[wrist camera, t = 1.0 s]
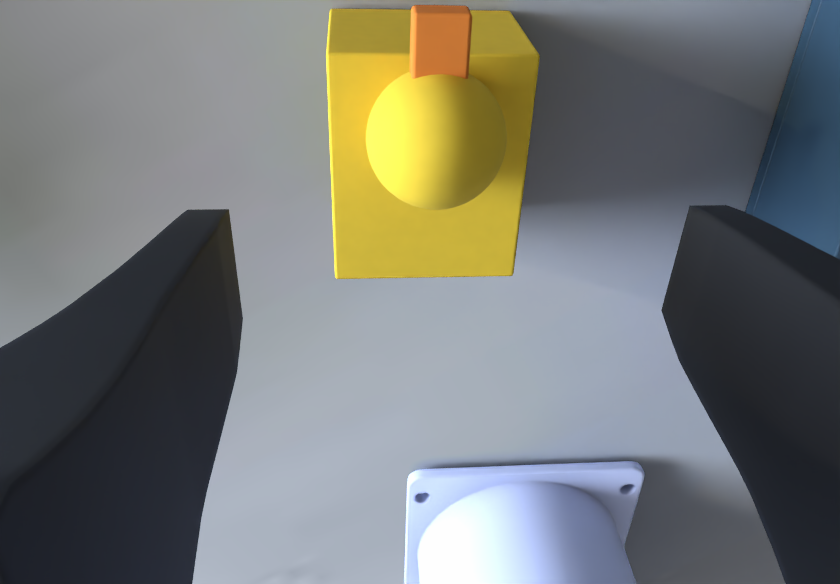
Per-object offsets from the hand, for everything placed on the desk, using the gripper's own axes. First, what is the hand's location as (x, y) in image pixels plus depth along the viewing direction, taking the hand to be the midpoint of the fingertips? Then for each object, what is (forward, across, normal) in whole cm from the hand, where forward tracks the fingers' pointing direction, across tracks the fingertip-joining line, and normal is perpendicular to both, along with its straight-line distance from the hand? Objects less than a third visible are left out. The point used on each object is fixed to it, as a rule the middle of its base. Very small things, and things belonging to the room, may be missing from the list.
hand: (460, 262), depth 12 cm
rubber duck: (+7, 0, 0) cm, 7 cm away
